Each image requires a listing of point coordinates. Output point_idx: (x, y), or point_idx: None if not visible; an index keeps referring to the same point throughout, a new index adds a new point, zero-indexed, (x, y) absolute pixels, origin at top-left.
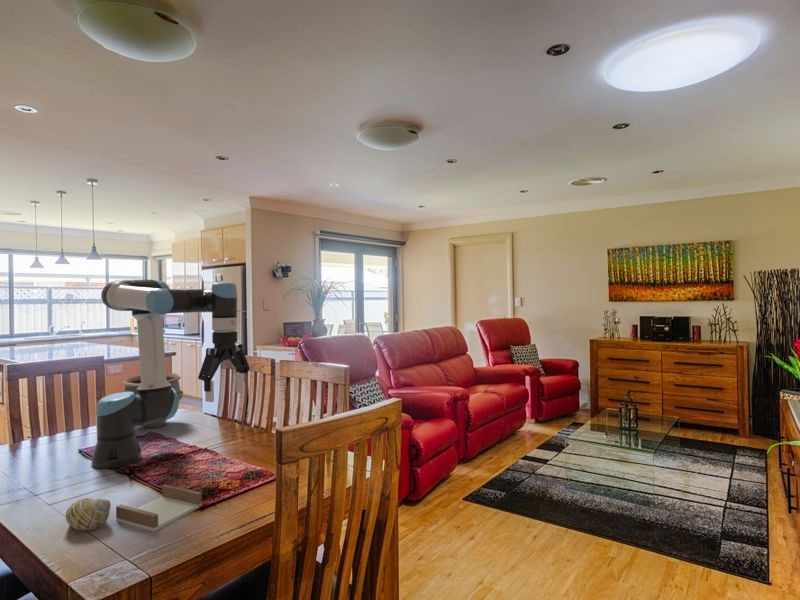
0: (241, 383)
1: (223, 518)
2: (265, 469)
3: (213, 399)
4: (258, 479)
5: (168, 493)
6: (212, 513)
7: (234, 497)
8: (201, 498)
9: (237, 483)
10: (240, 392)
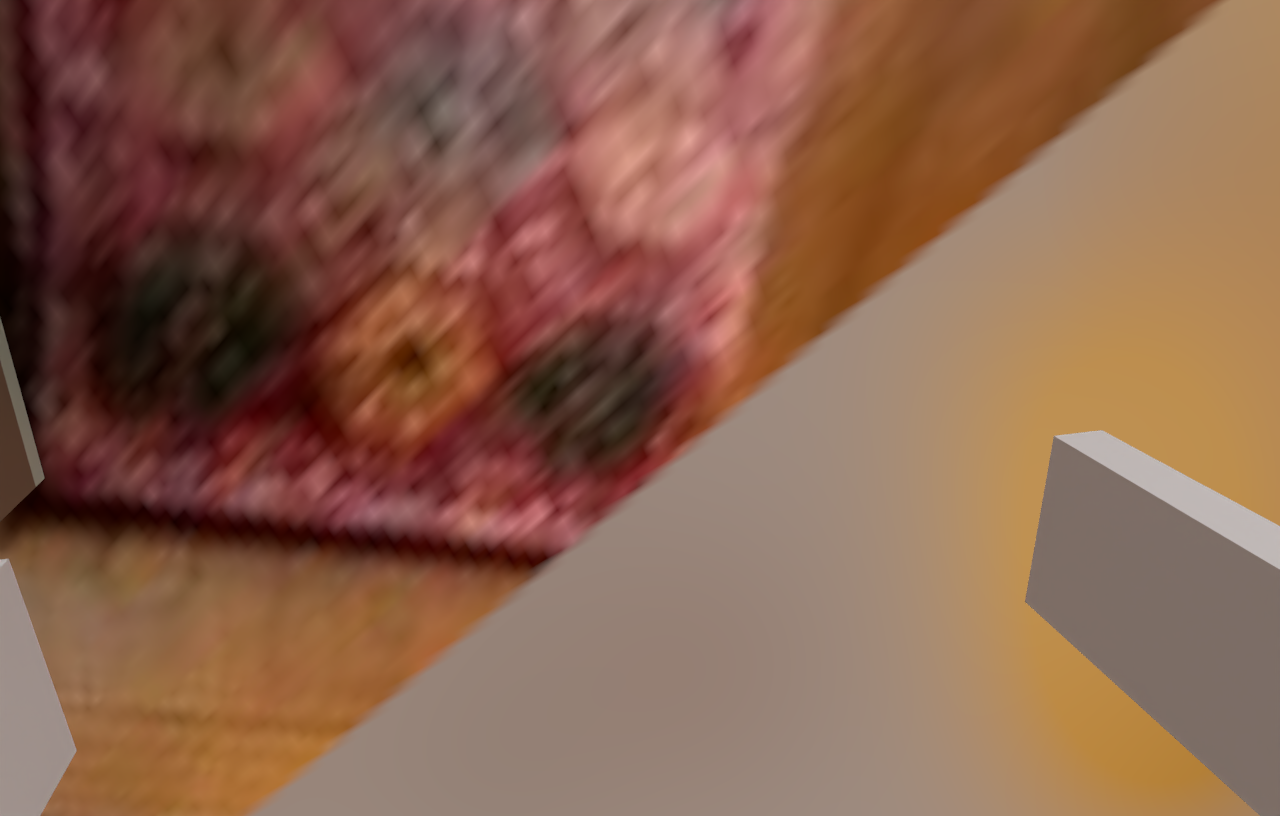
0: (1205, 729)
1: None
2: (714, 397)
3: (31, 796)
4: (555, 479)
5: None
6: None
7: (264, 553)
8: (16, 502)
9: (438, 407)
10: (1041, 549)
